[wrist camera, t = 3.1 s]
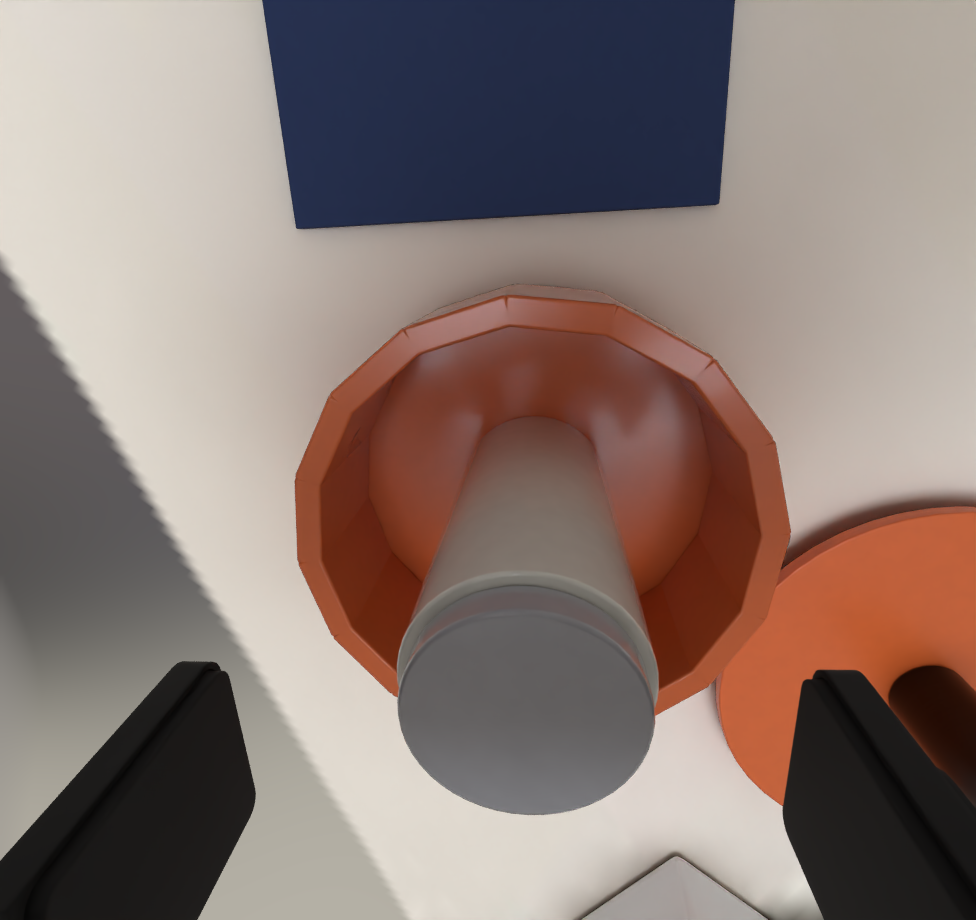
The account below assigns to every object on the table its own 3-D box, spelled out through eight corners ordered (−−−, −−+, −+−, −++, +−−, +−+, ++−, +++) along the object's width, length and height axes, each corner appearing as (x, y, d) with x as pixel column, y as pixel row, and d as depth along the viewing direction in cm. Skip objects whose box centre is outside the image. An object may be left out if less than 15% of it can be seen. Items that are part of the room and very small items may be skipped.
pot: (449, 207, 17) (413, 191, 12) (810, 406, 18) (902, 461, 13) (300, 540, 21) (233, 621, 16) (599, 686, 22) (614, 800, 17)
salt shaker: (504, 389, 18) (459, 549, 8) (632, 457, 18) (729, 684, 9) (441, 507, 20) (342, 755, 10) (560, 567, 20) (575, 862, 10)
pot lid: (878, 424, 18) (1014, 495, 13) (1222, 615, 19) (1476, 753, 14) (640, 718, 22) (668, 858, 17) (928, 859, 23) (1036, 1030, 18)
